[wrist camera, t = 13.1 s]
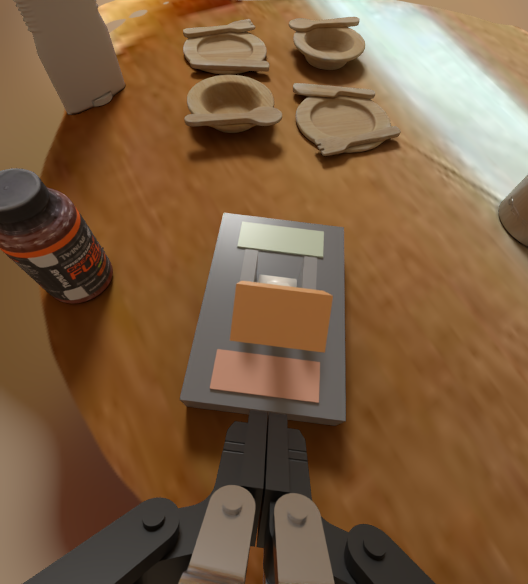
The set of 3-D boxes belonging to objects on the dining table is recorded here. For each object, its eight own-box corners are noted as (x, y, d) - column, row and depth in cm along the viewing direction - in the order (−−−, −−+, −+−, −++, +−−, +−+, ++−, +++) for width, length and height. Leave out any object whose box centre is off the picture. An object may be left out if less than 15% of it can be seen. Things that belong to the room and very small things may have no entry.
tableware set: (185, 32, 56) (181, 3, 52) (346, 34, 59) (352, 6, 55) (180, 169, 39) (173, 139, 36) (406, 163, 42) (421, 135, 38)
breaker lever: (301, 279, 27) (333, 295, 13) (297, 306, 27) (324, 352, 13) (254, 273, 27) (236, 283, 13) (251, 301, 27) (229, 340, 13)
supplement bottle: (103, 309, 29) (29, 228, 19) (38, 302, 29) (-68, 217, 19) (123, 256, 32) (68, 162, 22) (64, 250, 32) (-16, 153, 22)
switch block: (336, 246, 34) (356, 197, 28) (335, 425, 25) (364, 412, 19) (225, 232, 34) (220, 181, 28) (186, 406, 25) (167, 387, 19)
